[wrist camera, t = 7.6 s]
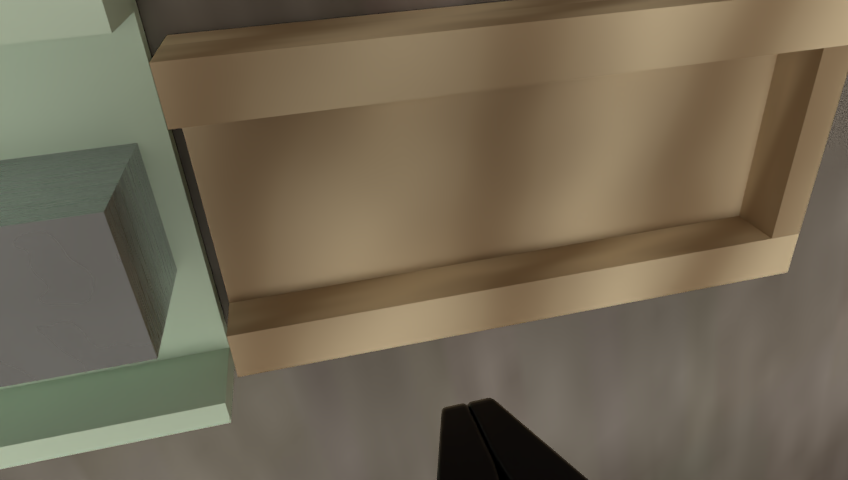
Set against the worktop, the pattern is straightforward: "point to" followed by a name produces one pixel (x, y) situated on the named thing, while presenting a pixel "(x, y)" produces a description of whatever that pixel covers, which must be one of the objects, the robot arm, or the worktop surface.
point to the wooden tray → (497, 161)
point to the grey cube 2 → (80, 264)
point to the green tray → (194, 285)
